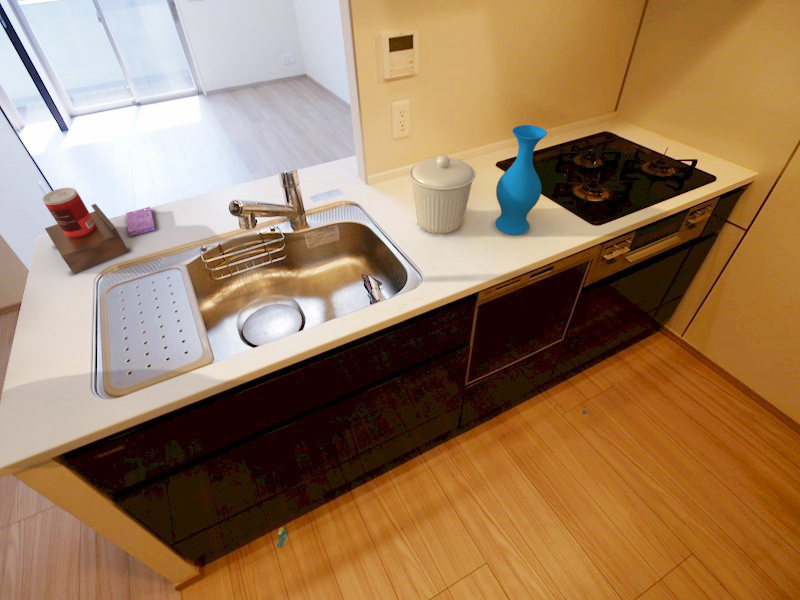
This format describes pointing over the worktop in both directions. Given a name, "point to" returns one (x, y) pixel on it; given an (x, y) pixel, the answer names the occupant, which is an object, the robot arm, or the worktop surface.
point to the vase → (519, 183)
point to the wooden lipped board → (89, 243)
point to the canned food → (70, 212)
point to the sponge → (140, 221)
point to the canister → (441, 192)
